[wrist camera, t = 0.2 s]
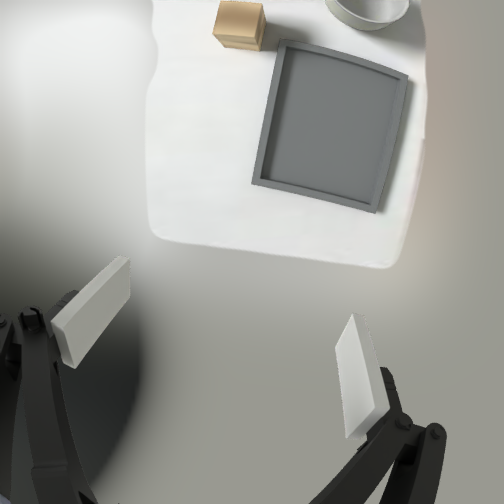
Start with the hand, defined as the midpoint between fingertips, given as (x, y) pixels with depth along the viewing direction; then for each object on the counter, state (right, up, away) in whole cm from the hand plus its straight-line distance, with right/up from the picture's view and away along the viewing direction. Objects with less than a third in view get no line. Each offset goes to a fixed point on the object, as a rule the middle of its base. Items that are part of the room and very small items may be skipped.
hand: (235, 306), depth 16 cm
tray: (+12, +20, +20) cm, 31 cm away
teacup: (+14, +38, +11) cm, 42 cm away
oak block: (0, +33, +15) cm, 37 cm away
